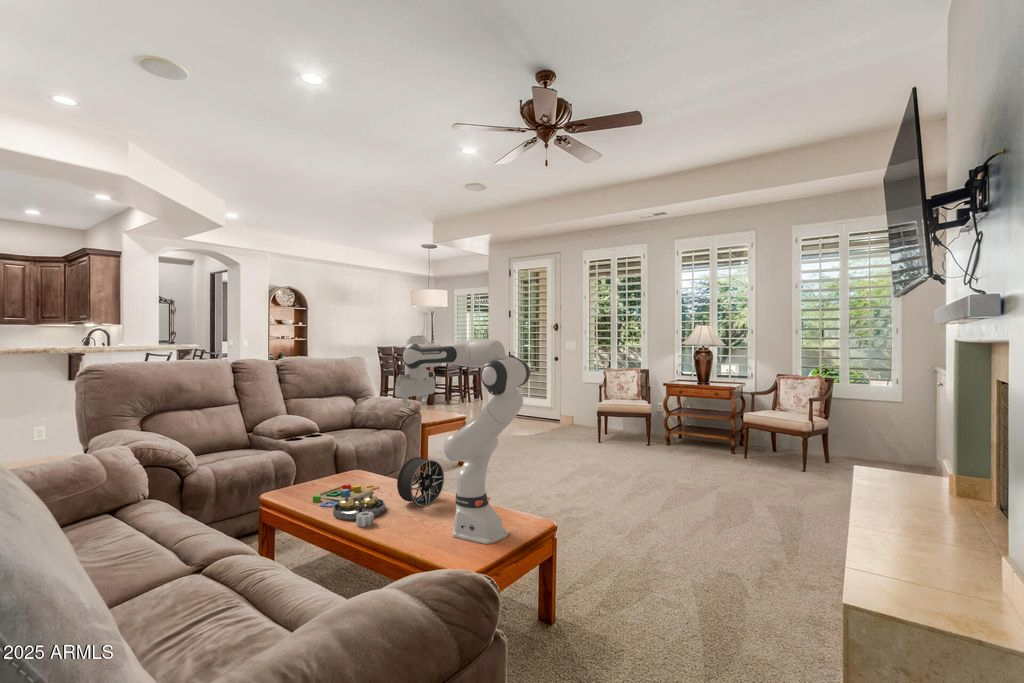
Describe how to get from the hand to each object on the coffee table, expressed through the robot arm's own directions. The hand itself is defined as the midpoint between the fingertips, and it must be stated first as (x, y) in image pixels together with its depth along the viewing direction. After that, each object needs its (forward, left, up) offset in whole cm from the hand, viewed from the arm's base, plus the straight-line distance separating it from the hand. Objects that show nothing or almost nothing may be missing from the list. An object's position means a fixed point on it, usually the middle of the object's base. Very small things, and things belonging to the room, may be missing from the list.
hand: (415, 406), depth 209 cm
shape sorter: (+42, +5, -46) cm, 63 cm away
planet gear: (+5, +21, -45) cm, 50 cm away
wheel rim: (+7, -10, -46) cm, 47 cm away
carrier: (+19, +14, -45) cm, 51 cm away
